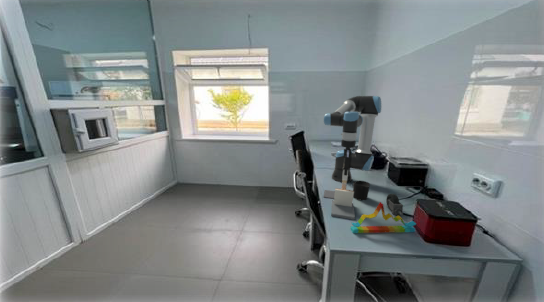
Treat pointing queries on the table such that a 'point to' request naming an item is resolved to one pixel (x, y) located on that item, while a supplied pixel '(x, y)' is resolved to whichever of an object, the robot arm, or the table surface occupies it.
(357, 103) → the robot arm
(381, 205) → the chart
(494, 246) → the table surface
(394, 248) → the table surface
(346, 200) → the tile
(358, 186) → the pen holder
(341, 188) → the wooden post on base
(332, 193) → the mat
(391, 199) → the caster wheel
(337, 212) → the slate board
